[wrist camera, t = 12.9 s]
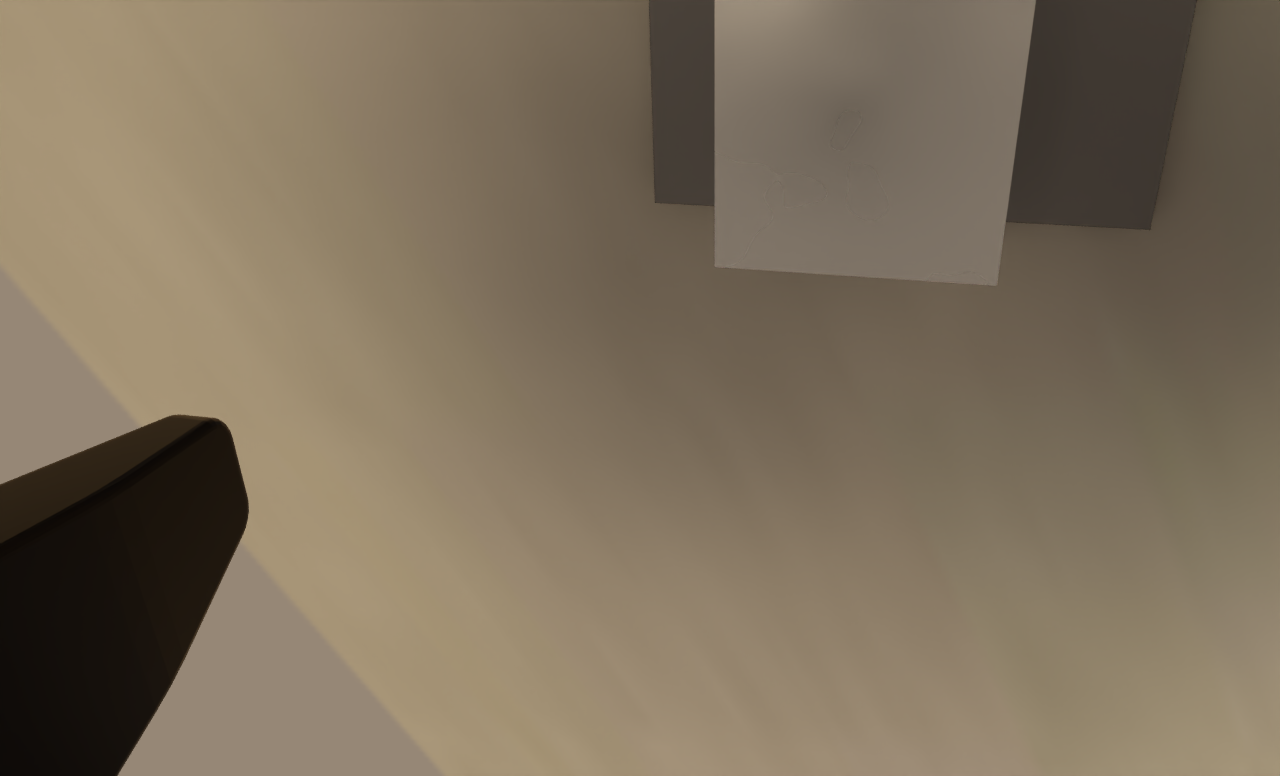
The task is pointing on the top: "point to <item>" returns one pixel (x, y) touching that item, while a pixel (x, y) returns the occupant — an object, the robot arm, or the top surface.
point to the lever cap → (867, 135)
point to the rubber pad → (1049, 121)
